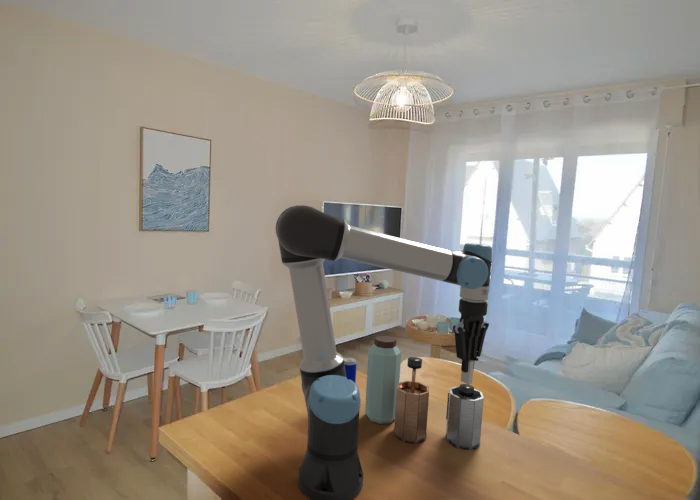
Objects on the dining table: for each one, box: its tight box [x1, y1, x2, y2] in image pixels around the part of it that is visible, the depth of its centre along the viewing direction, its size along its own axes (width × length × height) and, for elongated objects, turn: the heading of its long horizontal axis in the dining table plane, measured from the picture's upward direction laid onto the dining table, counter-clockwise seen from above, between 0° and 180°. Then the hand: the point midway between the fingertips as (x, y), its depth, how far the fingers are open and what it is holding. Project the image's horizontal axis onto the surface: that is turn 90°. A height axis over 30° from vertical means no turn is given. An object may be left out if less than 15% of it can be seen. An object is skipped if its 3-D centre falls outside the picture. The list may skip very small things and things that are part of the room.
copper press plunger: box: [403, 356, 423, 394], centre depth 118 cm, size 7×7×11 cm
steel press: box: [445, 385, 485, 451], centre depth 117 cm, size 9×10×14 cm
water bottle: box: [364, 335, 402, 425], centre depth 127 cm, size 10×10×25 cm
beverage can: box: [343, 356, 358, 384], centre depth 136 cm, size 5×5×15 cm
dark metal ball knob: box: [458, 383, 475, 399], centre depth 116 cm, size 7×7×11 cm
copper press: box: [393, 380, 430, 444], centre depth 119 cm, size 9×10×14 cm
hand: (466, 382), depth 116 cm, fingers closed
